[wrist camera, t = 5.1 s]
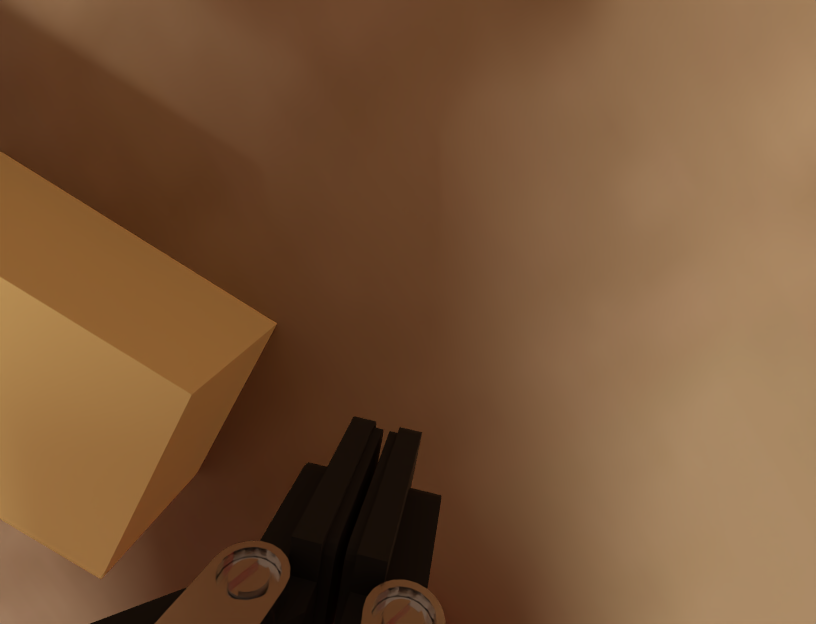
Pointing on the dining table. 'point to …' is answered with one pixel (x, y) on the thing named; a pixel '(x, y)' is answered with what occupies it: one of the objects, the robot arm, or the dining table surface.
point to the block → (104, 372)
